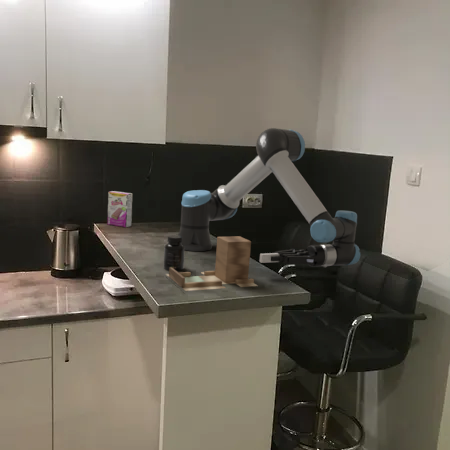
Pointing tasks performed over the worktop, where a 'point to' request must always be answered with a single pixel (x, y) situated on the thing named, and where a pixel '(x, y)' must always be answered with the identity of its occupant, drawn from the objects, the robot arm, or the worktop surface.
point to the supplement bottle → (174, 253)
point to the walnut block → (232, 258)
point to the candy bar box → (119, 209)
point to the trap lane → (203, 280)
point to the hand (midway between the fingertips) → (260, 258)
